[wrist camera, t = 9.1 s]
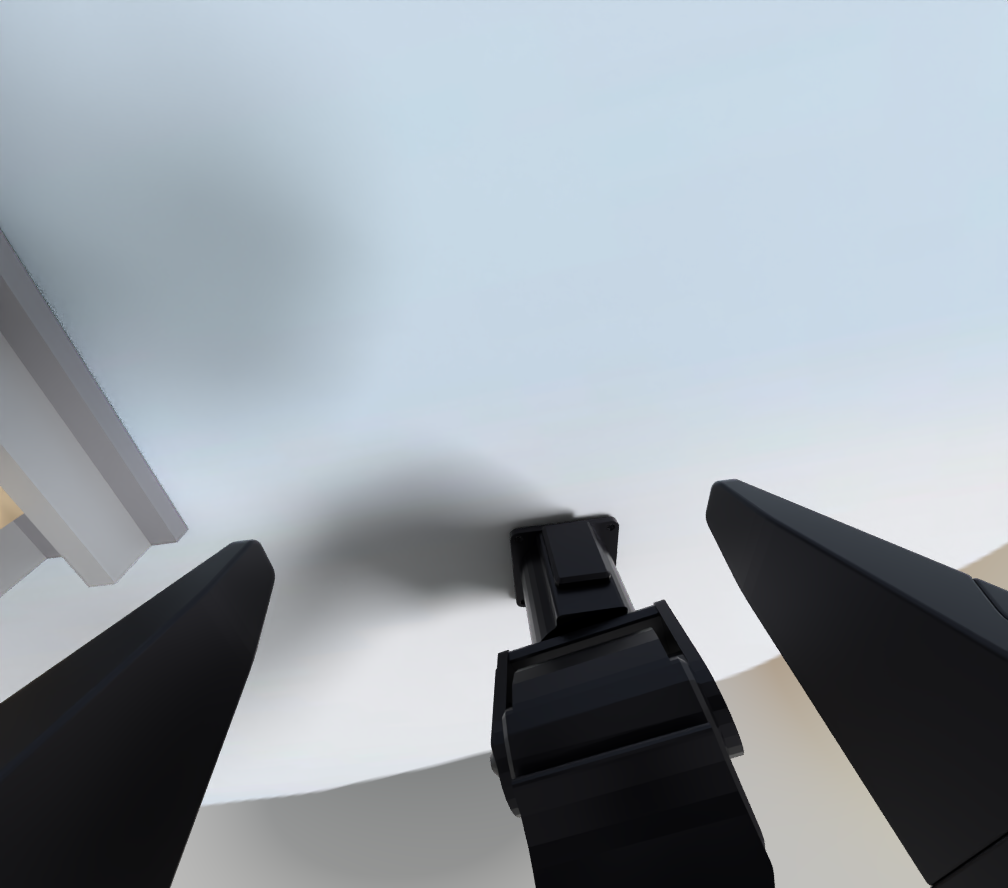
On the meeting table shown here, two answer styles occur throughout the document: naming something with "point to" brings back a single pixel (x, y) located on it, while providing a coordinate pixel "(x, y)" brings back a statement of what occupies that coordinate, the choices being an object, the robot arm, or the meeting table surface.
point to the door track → (66, 452)
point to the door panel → (8, 509)
